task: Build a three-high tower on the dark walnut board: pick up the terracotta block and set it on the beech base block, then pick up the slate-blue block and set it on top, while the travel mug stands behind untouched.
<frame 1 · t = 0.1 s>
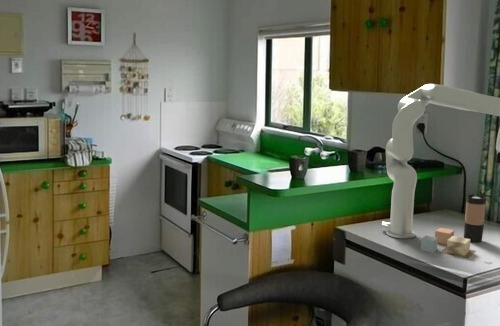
walnut board: (457, 254, 230), on the countertop
terracotta block: (443, 244, 242), on the countertop
beech base block: (457, 251, 230), point 1 cm above the countertop, touching walnut board
slate block: (428, 252, 232), on the countertop
travel mug: (472, 242, 245), on the countertop
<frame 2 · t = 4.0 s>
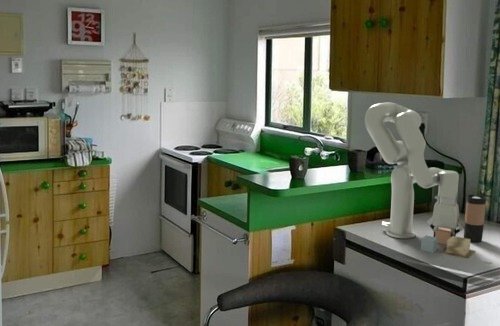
hand: (444, 241, 242), 1 cm above the countertop, tool pointing down, fingers closed on terracotta block, 6 cm apart
terracotta block: (443, 244, 242), on the countertop, touching gripper
everything else where it was.
when the fingers open (8 cm above the countertop, at t = 8.5 s): terracotta block drops 1 cm, resting on beech base block.
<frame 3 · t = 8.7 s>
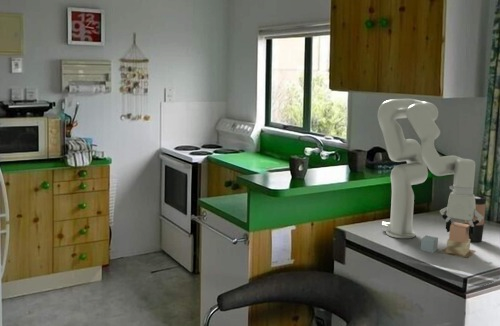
hand: (459, 233, 228), 9 cm above the countertop, tool pointing down, fingers open, 8 cm apart
terracotta block: (458, 239, 229), point 6 cm above the countertop, touching beech base block
beech base block: (457, 251, 230), point 1 cm above the countertop, touching terracotta block, walnut board
everything else where it was.
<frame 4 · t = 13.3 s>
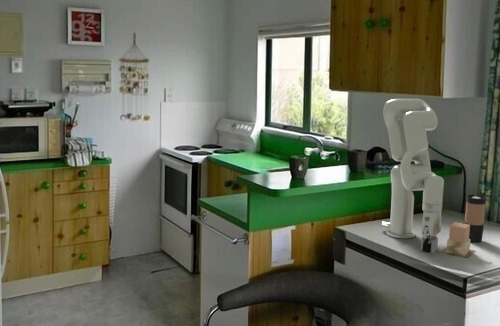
hand: (429, 249, 232), 1 cm above the countertop, tool pointing down, fingers closed on slate block, 5 cm apart
slate block: (428, 252, 232), on the countertop, touching gripper
everything else where it was.
when the fingers open (14 cm above the countertop, at t = 18.0 s): slate block drops 1 cm, resting on terracotta block.
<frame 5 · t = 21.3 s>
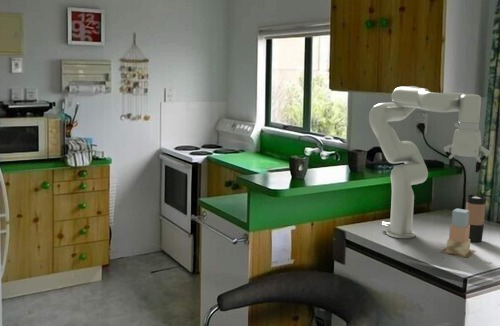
hand: (464, 170, 224), 34 cm above the countertop, tool pointing down, fingers open, 9 cm apart
terracotta block: (458, 239, 229), point 6 cm above the countertop, touching beech base block, slate block
slate block: (459, 225, 228), point 12 cm above the countertop, touching terracotta block
everything else where it was.
at the end: terracotta block 0.0 cm off-centre on the beech base block, point 5.0 cm above the beech base block's base; slate block 0.1 cm off-centre on the terracotta block, point 6.0 cm above the terracotta block's base; slate block tilted 0° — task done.
